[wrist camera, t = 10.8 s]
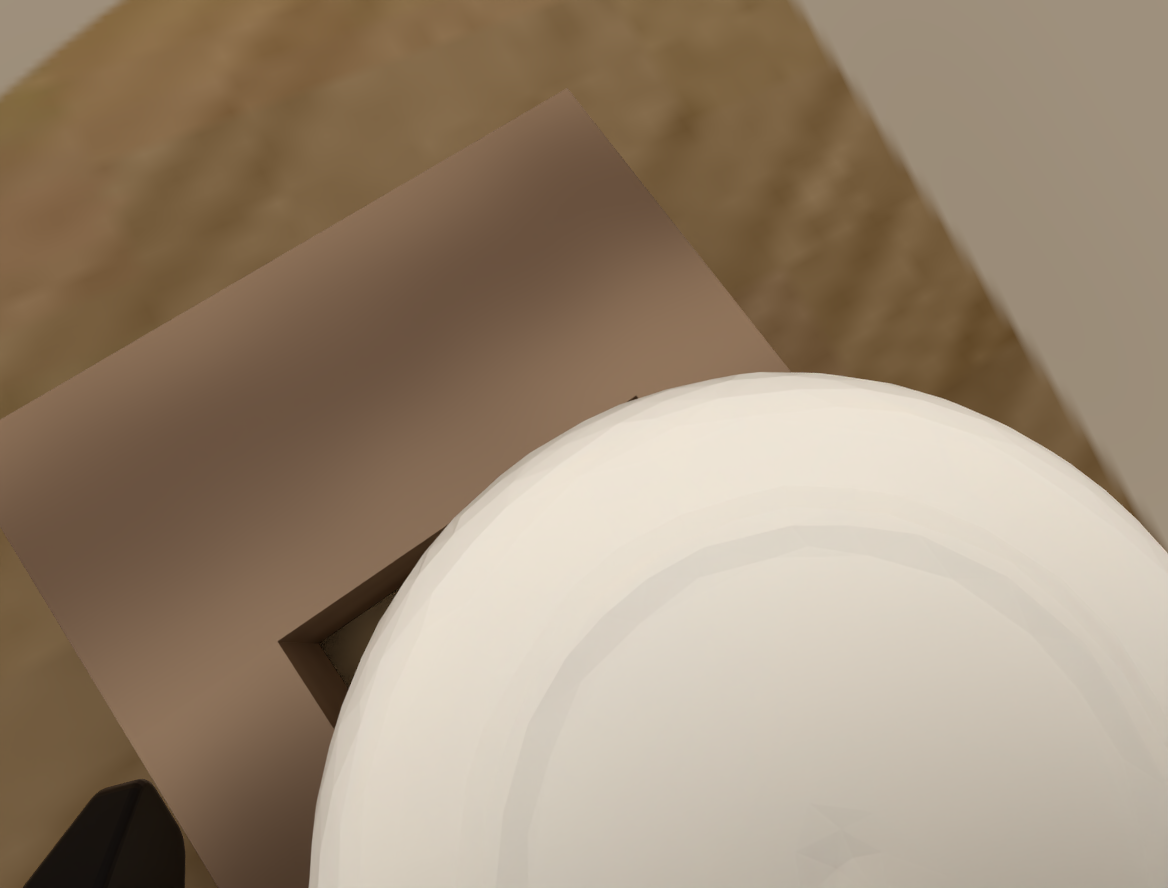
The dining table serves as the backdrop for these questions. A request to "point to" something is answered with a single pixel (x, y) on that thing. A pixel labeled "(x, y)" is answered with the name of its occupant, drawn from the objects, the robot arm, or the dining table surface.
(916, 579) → the sprinkles bottle
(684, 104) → the dining table surface
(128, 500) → the socket block
